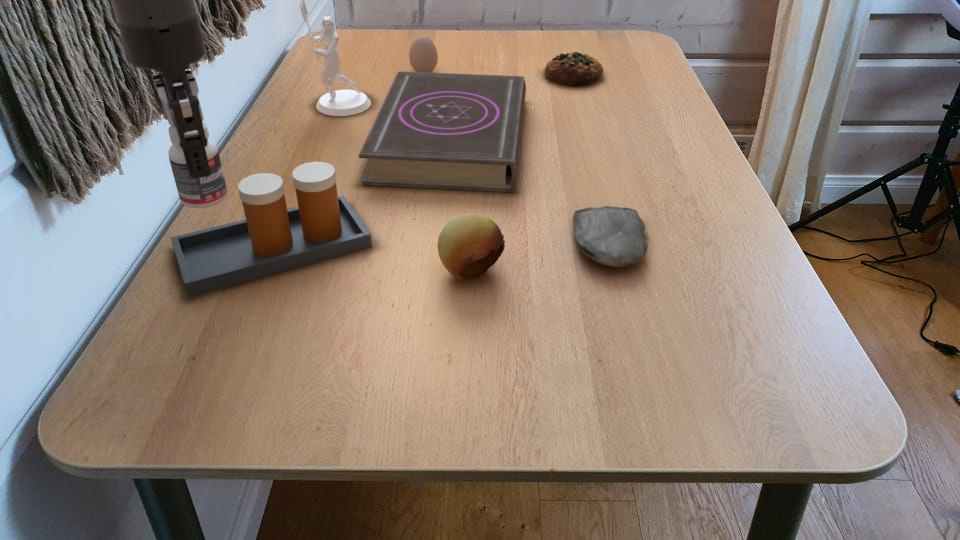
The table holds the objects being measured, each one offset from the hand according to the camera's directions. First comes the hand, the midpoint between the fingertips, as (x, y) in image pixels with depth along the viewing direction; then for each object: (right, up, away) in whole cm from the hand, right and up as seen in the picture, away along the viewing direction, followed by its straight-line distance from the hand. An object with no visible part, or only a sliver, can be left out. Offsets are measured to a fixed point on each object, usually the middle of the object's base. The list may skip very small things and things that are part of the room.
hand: (195, 163), depth 83 cm
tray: (+6, -9, +11) cm, 15 cm away
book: (+27, +9, +35) cm, 45 cm away
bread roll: (+50, +25, +57) cm, 79 cm away
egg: (+21, +25, +57) cm, 66 cm away
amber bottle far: (+12, -7, +13) cm, 19 cm away
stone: (+49, -9, +12) cm, 51 cm away
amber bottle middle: (+6, -9, +10) cm, 15 cm away
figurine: (+8, +17, +46) cm, 50 cm away
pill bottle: (0, -4, +3) cm, 5 cm away
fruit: (+31, -13, +7) cm, 34 cm away
